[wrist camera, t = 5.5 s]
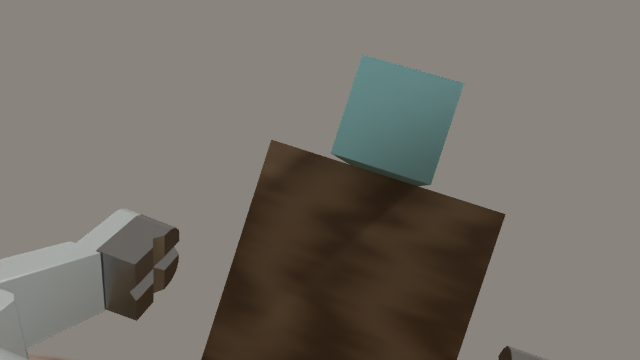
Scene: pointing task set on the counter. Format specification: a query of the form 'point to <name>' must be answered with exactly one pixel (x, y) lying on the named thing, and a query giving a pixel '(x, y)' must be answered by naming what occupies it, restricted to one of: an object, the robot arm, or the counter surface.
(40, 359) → the counter surface
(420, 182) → the teal bar
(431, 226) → the walnut stand
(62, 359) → the counter surface
